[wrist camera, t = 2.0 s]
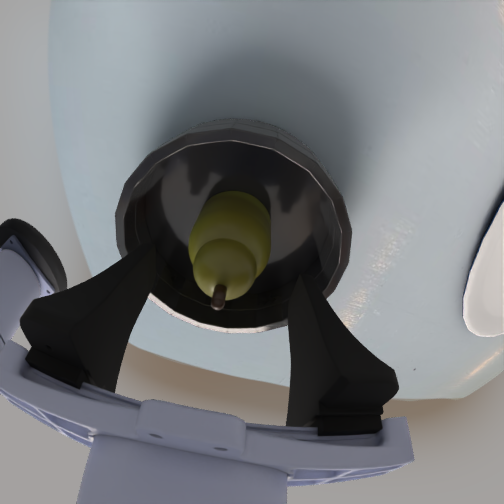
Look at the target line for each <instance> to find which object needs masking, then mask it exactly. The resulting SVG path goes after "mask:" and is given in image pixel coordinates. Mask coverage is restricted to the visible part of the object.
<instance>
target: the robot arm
mask: <svg viewBox="0 0 504 504" xmlns="http://www.w3.org/2000/svg"><path fill="white" fill-rule="evenodd" d="M155 277H156V250H155V244H150V243H145V242H144V243H143V244H141V245H140V246H138V247H137V248H136V249H134V250H133V251H132V252H130V253H129V254H128V255H126V256H125V257H123V258H122V259H121V260H119V261H118V262H116V263H115V264H113V265H112V266H110V267H109V268H107V269H106V270H104V271H103V272H101V273H100V274H98V275H96V276H94V277H92V278H91V279H89V280H87V281H85V282H83V283H80V284H78V285H76V286H74V287H72V288H69V289H67V290H64V291H61V292H58V293H55V294H53V293H54V292H55V289H54V287H53V286H52V285H51V284H50V282H49V281H48V280H47V279H46V277H45V276H44V275H43V274H42V272H41V271H40V270H39V268H38V267H37V266H36V264H35V263H34V262H33V260H32V259H31V257H30V256H29V255H28V253H27V252H26V250H25V249H24V247H23V246H22V245H21V243H20V242H19V240H18V239H17V237H16V236H15V235H12V236H11V237H10V238H9V239H8V240H7V241H6V242H5V243H4V244H3V245H2V247H1V248H0V394H2V395H3V396H4V397H5V398H6V399H7V400H8V401H9V402H10V403H12V404H13V405H15V406H16V407H18V408H19V409H21V410H22V411H24V412H25V413H27V414H29V415H30V416H32V417H34V418H35V419H37V420H39V421H40V422H42V423H44V424H45V425H47V426H49V427H51V428H52V429H54V430H56V431H58V432H60V433H61V434H63V435H65V436H67V437H69V438H71V439H73V440H75V441H77V442H79V443H81V444H83V445H85V446H88V447H90V448H91V449H90V453H89V456H88V460H87V463H86V467H85V471H84V474H83V478H82V482H81V486H80V490H79V494H78V498H77V503H76V504H287V487H288V486H306V485H318V484H327V483H335V482H342V481H350V480H356V479H361V478H367V477H374V476H379V475H384V474H386V473H388V472H391V471H394V470H396V469H398V468H400V467H403V466H405V465H407V464H409V463H411V462H413V461H414V455H413V449H412V443H411V438H410V433H409V428H408V423H407V418H406V417H405V416H404V417H394V418H387V419H384V420H381V416H380V415H381V414H383V407H382V406H383V405H384V404H385V403H387V402H388V401H389V400H390V399H391V398H393V397H394V396H395V394H396V393H397V392H398V390H399V385H398V381H397V377H396V374H395V371H394V369H392V368H391V367H389V366H388V365H387V364H385V363H384V362H382V361H381V360H380V359H378V358H377V357H376V356H375V355H373V354H372V353H371V352H370V351H369V350H368V349H367V348H365V347H364V346H363V345H362V344H361V343H360V342H359V341H358V340H357V339H356V338H355V337H354V336H353V335H352V333H351V332H350V331H349V330H348V329H347V328H346V326H345V325H344V324H343V323H342V321H341V320H340V319H339V317H338V316H337V315H336V313H335V312H334V311H333V309H332V308H331V306H330V305H329V303H328V301H327V300H326V298H325V297H324V295H323V293H322V292H321V290H320V288H319V287H318V285H317V283H316V282H315V280H314V278H313V277H312V275H307V274H302V273H300V275H299V277H298V280H297V282H296V285H295V287H294V290H293V292H292V295H291V297H290V300H289V302H288V330H289V342H290V354H291V376H290V393H289V403H288V414H287V421H286V426H275V425H262V424H253V423H245V422H244V420H242V419H240V418H238V417H236V416H233V415H230V414H226V413H220V412H214V411H208V410H203V409H198V408H193V407H188V406H183V405H179V404H175V403H170V402H166V401H161V400H154V399H151V400H145V401H143V402H141V401H138V400H135V399H131V398H128V397H125V396H121V395H119V394H115V389H116V384H117V379H118V375H119V371H120V367H121V363H122V360H123V356H124V353H125V349H126V346H127V343H128V340H129V337H130V334H131V332H132V329H133V327H134V325H135V323H136V320H137V318H138V316H139V314H140V312H141V310H142V308H143V306H144V304H145V302H146V300H147V298H148V296H149V294H150V292H151V289H152V286H153V283H154V280H155ZM19 326H21V329H22V330H23V332H24V334H25V336H26V338H27V340H28V341H29V343H30V345H31V346H32V347H31V349H30V351H28V350H27V349H25V348H24V347H23V346H21V345H19V344H17V343H15V342H13V341H12V340H11V339H12V337H13V335H14V334H15V332H16V331H17V329H18V327H19Z"/></svg>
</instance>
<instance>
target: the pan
mask: <svg viewBox="0 0 504 504" xmlns="http://www.w3.org/2000/svg"><path fill="white" fill-rule="evenodd" d="M226 191H240V192H244V193H247V194H250V195H252V196H254V197H255V198H257V199H258V200H259V201H260V202H261V203H262V204H263V205H264V206H265V208H266V209H267V211H268V213H269V216H270V220H271V252H270V257H269V260H268V263H267V265H266V267H265V268H264V270H263V271H262V273H261V274H260V275H259V276H258V277H257V278H256V279H255V280H254V283H253V285H252V286H251V288H250V289H249V290H248V291H247V292H246V293H245V294H243V295H242V296H240V297H238V298H235V299H232V300H225V305H224V307H223V308H222V309H221V310H215V309H213V308H212V306H211V300H212V297H210V296H208V295H207V294H206V293H204V292H203V291H202V290H201V289H200V287H199V286H198V284H197V283H196V280H195V278H194V273H193V264H192V262H191V259H190V256H189V249H188V245H189V237H190V234H191V231H192V228H193V226H194V224H195V222H196V220H197V218H198V215H199V213H200V211H201V209H202V207H203V206H204V204H205V203H206V202H207V201H208V200H209V199H210V198H211V197H213V196H215V195H217V194H219V193H222V192H226ZM115 222H116V240H117V247H118V249H119V252H120V255H121V257H122V258H123V257H125V256H126V255H128V254H129V253H130V252H132V251H133V250H134V249H136V248H137V247H138V246H140V245H141V244H143V243H144V242H145V243H150V244H155V250H156V277H155V280H154V283H153V286H152V289H151V292H150V294H149V296H148V298H149V299H150V300H151V301H153V302H154V303H155V304H157V305H158V306H159V307H161V308H162V309H163V310H165V311H166V312H167V313H169V314H170V315H172V316H174V317H176V318H179V319H181V320H183V321H185V322H188V323H190V324H192V325H194V326H197V327H200V328H205V329H209V330H214V331H219V332H224V333H257V332H258V333H259V332H263V331H268V330H272V329H276V328H280V327H284V326H287V325H288V302H289V300H290V297H291V295H292V292H293V290H294V287H295V285H296V282H297V280H298V277H299V275H300V273H302V274H307V275H312V277H313V278H314V280H315V282H316V283H317V285H318V287H319V288H320V290H321V292H322V293H323V295H324V297H325V298H326V299H327V298H328V297H329V296H330V295H331V294H332V293H333V292H334V290H335V289H336V287H337V285H338V283H339V281H340V279H341V277H342V275H343V273H344V271H345V269H346V267H347V265H348V263H349V256H350V248H351V238H352V228H351V224H350V221H349V217H348V213H347V210H346V206H345V203H344V199H343V196H342V194H341V193H340V191H339V189H338V187H337V186H336V184H335V183H334V181H333V179H332V177H331V176H330V174H329V172H328V171H327V170H326V169H325V167H324V166H323V165H322V163H321V162H320V160H319V159H318V158H317V157H316V156H315V154H314V153H313V152H312V151H311V150H310V148H309V147H307V145H305V144H304V143H302V142H301V141H300V140H298V139H297V138H296V137H294V136H293V135H291V134H290V133H288V132H286V131H284V130H282V129H280V128H278V127H276V126H273V125H270V124H267V123H263V122H260V121H254V120H249V119H221V120H214V121H210V122H206V123H202V124H199V125H197V126H195V127H193V128H190V129H188V130H186V131H185V132H183V133H181V134H179V135H177V136H175V137H173V138H171V139H170V140H168V141H167V142H165V143H164V144H163V145H161V146H160V147H158V148H157V149H155V150H154V151H152V152H151V153H150V154H149V155H147V157H146V158H145V159H144V160H143V161H142V162H141V164H140V165H139V166H138V167H137V168H136V170H135V171H134V172H133V173H132V175H131V176H130V177H129V178H128V180H127V181H126V183H125V184H124V187H123V190H122V193H121V197H120V200H119V203H118V206H117V209H116V213H115Z"/></svg>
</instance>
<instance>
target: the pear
mask: <svg viewBox="0 0 504 504" xmlns="http://www.w3.org/2000/svg"><path fill="white" fill-rule="evenodd" d="M188 249H189V256H190V259H191V262H192V264H193V273H194V278H195V280H196V283H197V284H198V286H199V287H200V289H201V290H202V291H203V292H204V293H206V294H207V295H208V296H210V297H212V300H211V306H212V308H213V309H215V310H221V309H222V308H223V307H224V305H225V300H232V299H235V298H238V297H240V296H242V295H243V294H245V293H246V292H247V291H248V290H249V289H250V288H251V286H252V285H253V283H254V280H255V279H256V278H257V277H258V276H259V275H260V274H261V273H262V271H263V270H264V268H265V267H266V265H267V263H268V260H269V257H270V252H271V220H270V216H269V213H268V211H267V209H266V208H265V206H264V205H263V204H262V203H261V202H260V201H259V200H258V199H257V198H255V197H254V196H252V195H250V194H247V193H244V192H240V191H226V192H222V193H219V194H217V195H215V196H213V197H211V198H210V199H209V200H208V201H207V202H206V203H205V204H204V206H203V207H202V209H201V211H200V213H199V215H198V218H197V220H196V222H195V224H194V226H193V228H192V231H191V234H190V237H189V245H188Z"/></svg>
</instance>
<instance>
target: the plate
mask: <svg viewBox="0 0 504 504" xmlns="http://www.w3.org/2000/svg"><path fill="white" fill-rule="evenodd" d="M463 318H464V321H465V323H466V325H467V328H468V330H469V331H471V332H472V333H474V334H476V335H477V336H484V337H493V336H497V335H501V334H504V199H503V201H502V202H501V204H500V205H499V207H498V209H497V211H496V213H495V215H494V217H493V219H492V221H491V223H490V225H489V227H488V229H487V231H486V233H485V234H484V236H483V238H482V240H481V243H480V246H479V248H478V251H477V253H476V256H475V258H474V261H473V263H472V266H471V268H470V270H469V274H468V278H467V283H466V287H465V290H464V294H463Z"/></svg>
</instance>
